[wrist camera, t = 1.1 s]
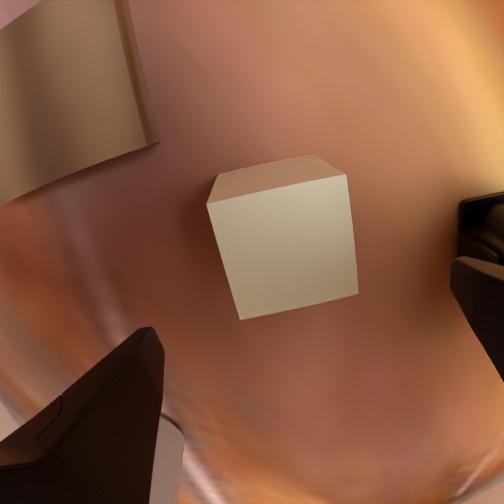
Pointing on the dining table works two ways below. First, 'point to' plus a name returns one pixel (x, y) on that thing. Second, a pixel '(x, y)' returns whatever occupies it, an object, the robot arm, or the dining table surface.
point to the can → (167, 464)
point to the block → (284, 234)
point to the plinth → (69, 92)
